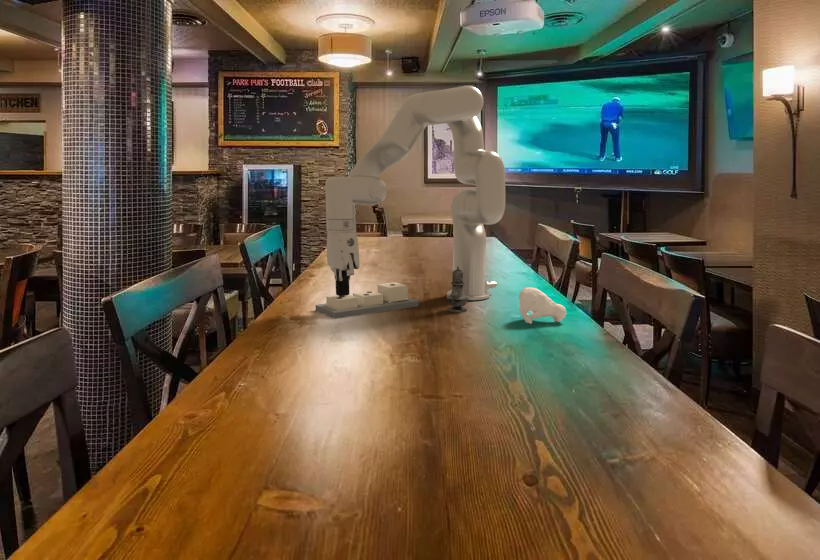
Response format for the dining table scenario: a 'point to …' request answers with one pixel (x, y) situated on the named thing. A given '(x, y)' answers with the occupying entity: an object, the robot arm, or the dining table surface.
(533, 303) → the cream animal figurine
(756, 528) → the dining table surface
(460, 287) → the grey turned candlestick
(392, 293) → the tile one
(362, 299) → the tile two
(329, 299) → the tile three
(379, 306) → the board
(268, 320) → the dining table surface
